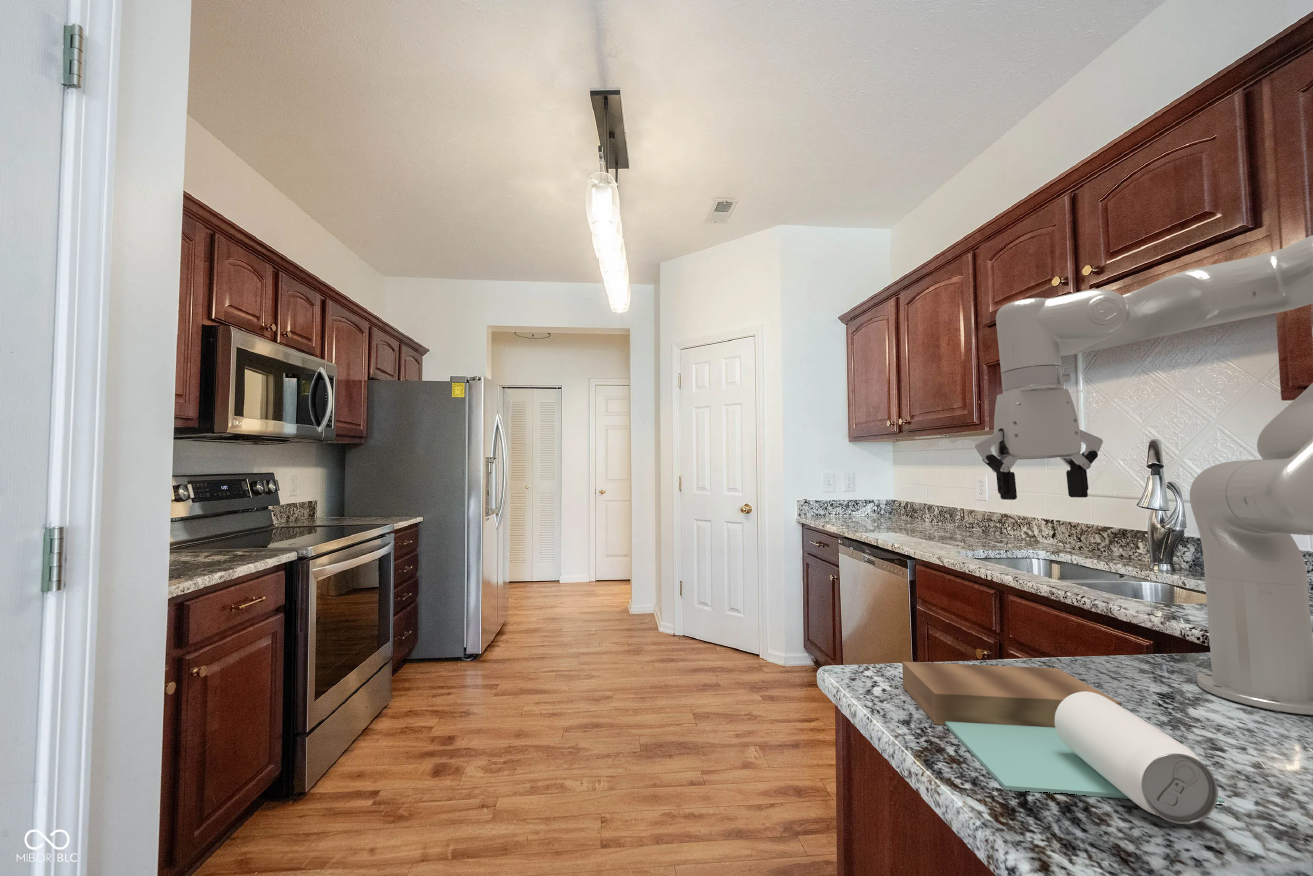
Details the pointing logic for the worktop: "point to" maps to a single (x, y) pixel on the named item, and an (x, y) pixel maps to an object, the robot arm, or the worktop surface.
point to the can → (1137, 758)
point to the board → (990, 692)
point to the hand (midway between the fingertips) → (1043, 498)
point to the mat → (1032, 760)
